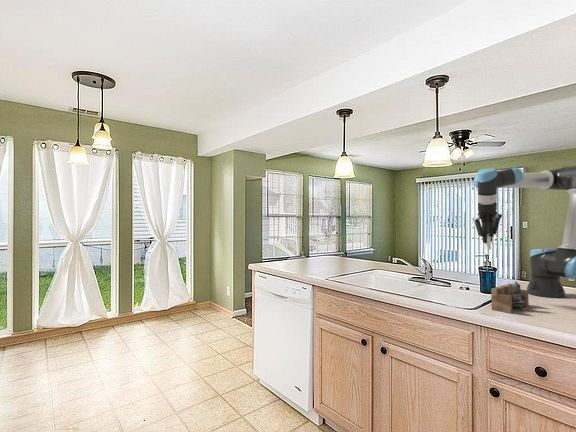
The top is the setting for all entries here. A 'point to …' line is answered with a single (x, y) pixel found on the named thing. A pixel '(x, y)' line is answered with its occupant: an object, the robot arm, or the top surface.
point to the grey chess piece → (517, 297)
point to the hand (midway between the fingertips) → (487, 248)
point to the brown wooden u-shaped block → (506, 298)
